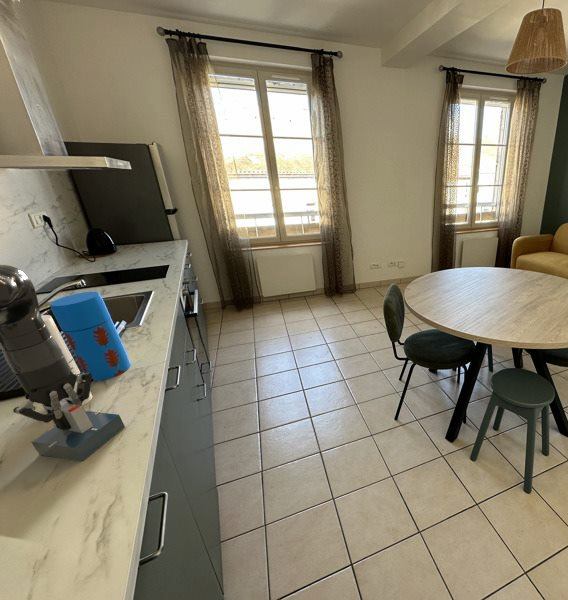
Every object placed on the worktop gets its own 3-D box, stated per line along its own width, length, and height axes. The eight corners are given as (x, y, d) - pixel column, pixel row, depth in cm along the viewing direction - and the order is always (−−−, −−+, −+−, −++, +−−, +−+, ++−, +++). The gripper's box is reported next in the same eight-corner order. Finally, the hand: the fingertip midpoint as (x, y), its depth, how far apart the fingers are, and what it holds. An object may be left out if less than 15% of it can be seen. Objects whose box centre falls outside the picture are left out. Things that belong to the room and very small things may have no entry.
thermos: (101, 384, 97) (62, 308, 87) (79, 377, 100) (40, 303, 90) (139, 364, 106) (108, 293, 96) (118, 358, 110) (86, 289, 100)
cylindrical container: (97, 391, 94) (57, 313, 84) (84, 407, 88) (39, 325, 78) (67, 397, 92) (22, 318, 82) (51, 414, 86) (1, 330, 76)
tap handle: (60, 428, 75) (47, 407, 73) (71, 421, 77) (59, 400, 75) (82, 433, 73) (70, 411, 71) (93, 426, 75) (81, 405, 73)
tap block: (36, 457, 73) (27, 443, 71) (88, 420, 83) (81, 407, 81) (80, 463, 71) (71, 449, 69) (127, 425, 81) (121, 412, 79)
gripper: (63, 341, 75) (94, 401, 82) (-21, 378, 63) (24, 445, 70) (87, 345, 73) (117, 405, 80) (6, 383, 61) (49, 451, 68)
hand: (73, 423), depth 75 cm, fingers closed on tap handle, 2 cm apart
